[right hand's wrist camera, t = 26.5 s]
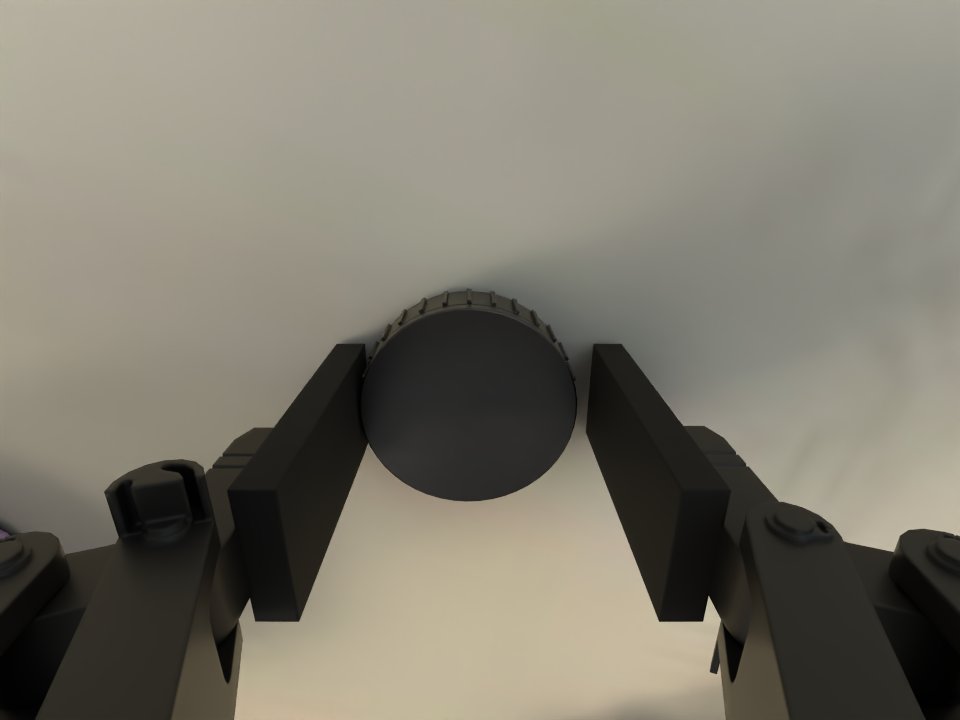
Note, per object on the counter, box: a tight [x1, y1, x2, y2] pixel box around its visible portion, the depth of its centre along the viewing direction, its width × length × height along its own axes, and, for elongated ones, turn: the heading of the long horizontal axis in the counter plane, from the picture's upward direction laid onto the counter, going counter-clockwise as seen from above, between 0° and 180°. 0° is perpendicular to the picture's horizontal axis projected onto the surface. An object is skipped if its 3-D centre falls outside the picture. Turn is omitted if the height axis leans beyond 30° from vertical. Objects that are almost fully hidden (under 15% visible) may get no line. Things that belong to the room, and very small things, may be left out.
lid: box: [360, 289, 577, 501], centre depth 14 cm, size 6×6×2 cm
